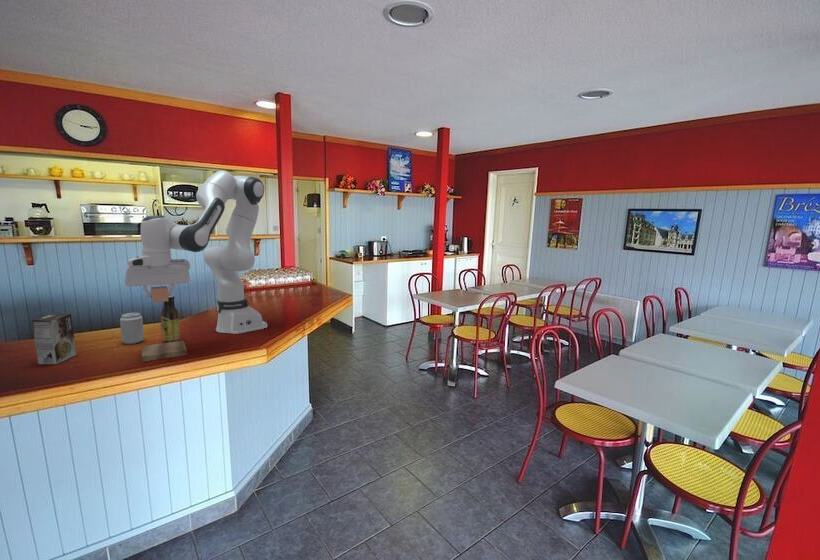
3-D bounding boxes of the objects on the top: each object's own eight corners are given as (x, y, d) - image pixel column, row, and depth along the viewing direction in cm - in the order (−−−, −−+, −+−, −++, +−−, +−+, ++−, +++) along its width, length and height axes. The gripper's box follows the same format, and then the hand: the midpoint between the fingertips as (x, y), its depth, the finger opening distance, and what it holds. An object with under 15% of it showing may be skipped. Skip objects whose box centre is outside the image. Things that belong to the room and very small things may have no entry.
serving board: (184, 345, 156) (183, 340, 155) (187, 354, 145) (186, 349, 145) (142, 351, 148) (141, 346, 147) (142, 361, 137) (141, 356, 137)
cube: (167, 298, 146) (166, 285, 146) (168, 301, 142) (167, 288, 142) (152, 299, 144) (151, 286, 143) (152, 302, 139) (151, 289, 139)
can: (132, 345, 153) (130, 316, 151) (117, 344, 155) (114, 315, 153) (148, 340, 161) (146, 312, 159) (134, 338, 162) (131, 311, 160)
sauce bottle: (160, 342, 158) (156, 295, 155) (177, 339, 163) (174, 293, 160) (165, 346, 154) (161, 298, 151) (182, 342, 159) (179, 296, 155)
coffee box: (58, 355, 141) (53, 313, 139) (77, 355, 142) (72, 313, 139) (37, 364, 132) (30, 319, 130) (56, 364, 133) (51, 319, 130)
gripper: (188, 258, 149) (190, 292, 151) (123, 259, 137) (126, 297, 140) (190, 259, 144) (192, 295, 146) (122, 261, 132) (126, 300, 134)
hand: (159, 296), depth 143 cm, fingers closed on cube, 5 cm apart
